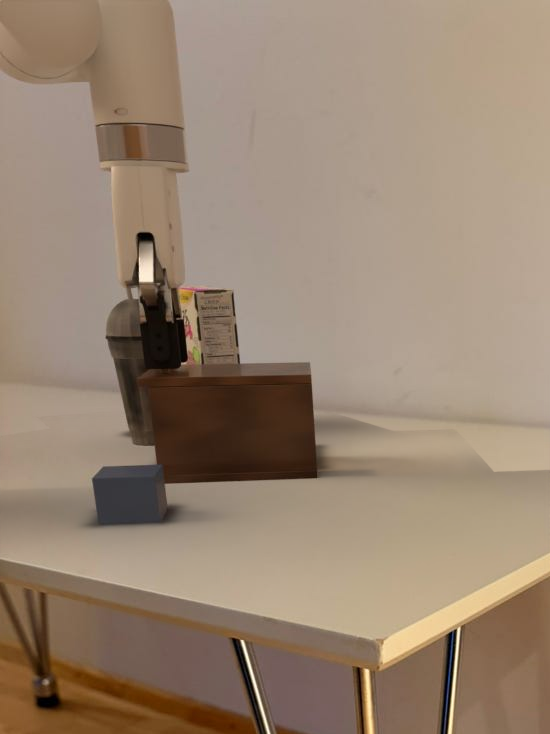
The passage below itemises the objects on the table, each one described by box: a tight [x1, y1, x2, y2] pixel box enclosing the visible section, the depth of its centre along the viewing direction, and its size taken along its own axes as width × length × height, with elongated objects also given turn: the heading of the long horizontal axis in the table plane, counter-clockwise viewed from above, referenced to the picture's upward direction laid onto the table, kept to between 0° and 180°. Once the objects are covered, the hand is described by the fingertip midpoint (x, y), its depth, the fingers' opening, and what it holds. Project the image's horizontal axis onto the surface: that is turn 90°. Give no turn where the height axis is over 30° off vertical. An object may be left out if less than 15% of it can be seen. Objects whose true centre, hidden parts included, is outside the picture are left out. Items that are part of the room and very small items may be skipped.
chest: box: [148, 382, 319, 485], centre depth 96 cm, size 15×12×9 cm
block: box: [91, 464, 169, 526], centre depth 76 cm, size 4×4×4 cm
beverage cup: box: [105, 288, 155, 446], centre depth 109 cm, size 7×7×20 cm
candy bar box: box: [179, 285, 241, 365], centre depth 120 cm, size 11×5×16 cm, turn 32°
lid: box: [137, 361, 313, 387], centre depth 94 cm, size 15×12×5 cm
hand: (167, 363), depth 93 cm, fingers closed on lid, 5 cm apart
